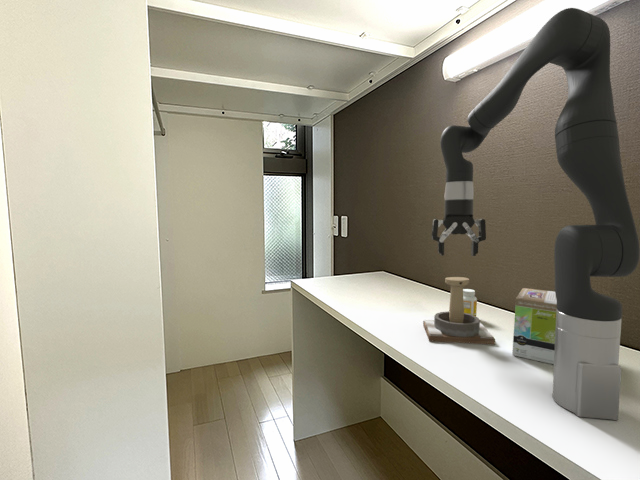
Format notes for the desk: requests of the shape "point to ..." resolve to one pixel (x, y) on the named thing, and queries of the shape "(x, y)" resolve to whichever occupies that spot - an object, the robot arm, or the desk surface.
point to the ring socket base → (457, 330)
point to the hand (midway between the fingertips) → (457, 255)
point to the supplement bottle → (469, 301)
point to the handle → (456, 298)
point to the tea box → (535, 325)
